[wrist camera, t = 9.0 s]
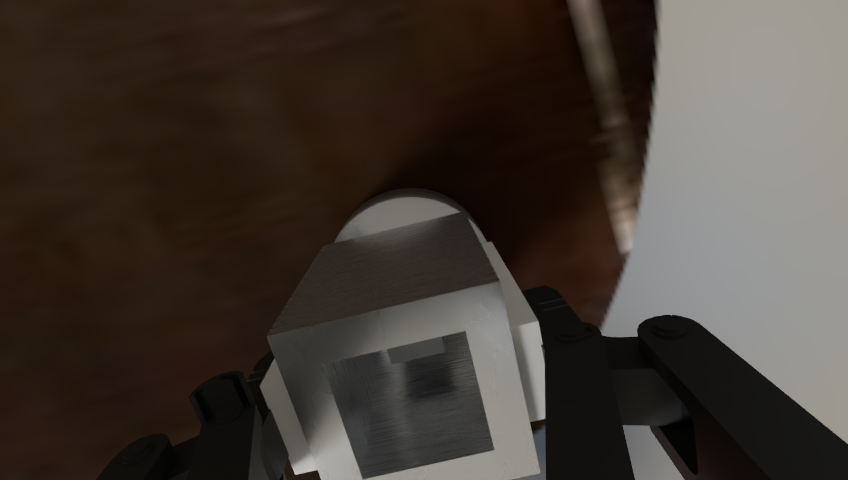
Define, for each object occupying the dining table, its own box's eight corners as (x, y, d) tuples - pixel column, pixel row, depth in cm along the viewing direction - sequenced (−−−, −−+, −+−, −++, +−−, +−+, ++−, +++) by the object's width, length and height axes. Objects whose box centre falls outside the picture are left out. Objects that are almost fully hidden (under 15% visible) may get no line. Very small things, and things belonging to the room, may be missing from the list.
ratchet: (314, 209, 20) (269, 258, 14) (469, 170, 20) (498, 202, 13) (424, 552, 26) (429, 702, 19) (545, 526, 26) (592, 668, 19)
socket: (323, 245, 17) (266, 336, 10) (464, 211, 17) (499, 281, 10) (363, 369, 19) (335, 517, 12) (493, 339, 18) (540, 473, 12)
